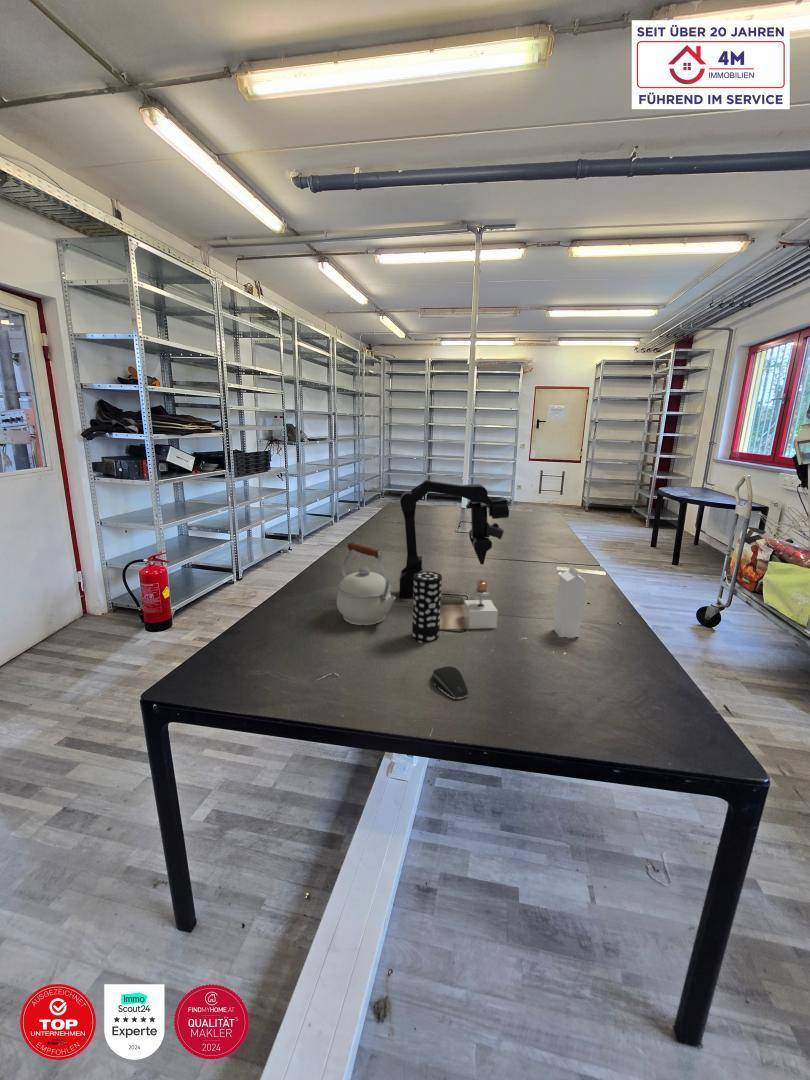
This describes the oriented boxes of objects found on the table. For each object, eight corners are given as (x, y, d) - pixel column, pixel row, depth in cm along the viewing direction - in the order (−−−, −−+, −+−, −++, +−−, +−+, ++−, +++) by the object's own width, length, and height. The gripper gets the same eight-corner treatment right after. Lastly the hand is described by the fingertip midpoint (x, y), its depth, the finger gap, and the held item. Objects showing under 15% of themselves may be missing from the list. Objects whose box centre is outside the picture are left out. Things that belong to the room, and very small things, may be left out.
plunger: (474, 611, 142) (476, 585, 139) (470, 605, 147) (472, 579, 144) (490, 611, 142) (492, 585, 140) (486, 605, 147) (488, 579, 145)
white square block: (468, 628, 141) (470, 611, 139) (463, 616, 150) (464, 600, 148) (496, 628, 142) (497, 610, 140) (489, 616, 150) (490, 599, 149)
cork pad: (437, 630, 140) (437, 628, 140) (430, 606, 159) (430, 604, 159) (496, 629, 142) (496, 628, 142) (482, 605, 160) (482, 604, 160)
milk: (570, 629, 143) (579, 565, 138) (578, 638, 137) (588, 571, 132) (552, 629, 143) (560, 564, 137) (559, 638, 137) (568, 571, 131)
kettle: (322, 615, 150) (320, 544, 143) (363, 600, 163) (362, 535, 156) (372, 640, 133) (373, 561, 127) (413, 621, 146) (415, 549, 140)
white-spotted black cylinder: (442, 634, 138) (445, 574, 133) (433, 646, 130) (435, 582, 125) (418, 628, 141) (420, 569, 136) (407, 639, 134) (409, 577, 129)
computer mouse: (449, 703, 104) (450, 688, 103) (426, 677, 115) (427, 663, 114) (475, 697, 107) (476, 682, 106) (450, 671, 118) (450, 658, 117)
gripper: (506, 523, 150) (507, 567, 154) (497, 513, 168) (498, 552, 172) (473, 525, 151) (475, 569, 155) (468, 515, 169) (469, 553, 173)
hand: (480, 560), depth 164 cm, fingers open, 9 cm apart
